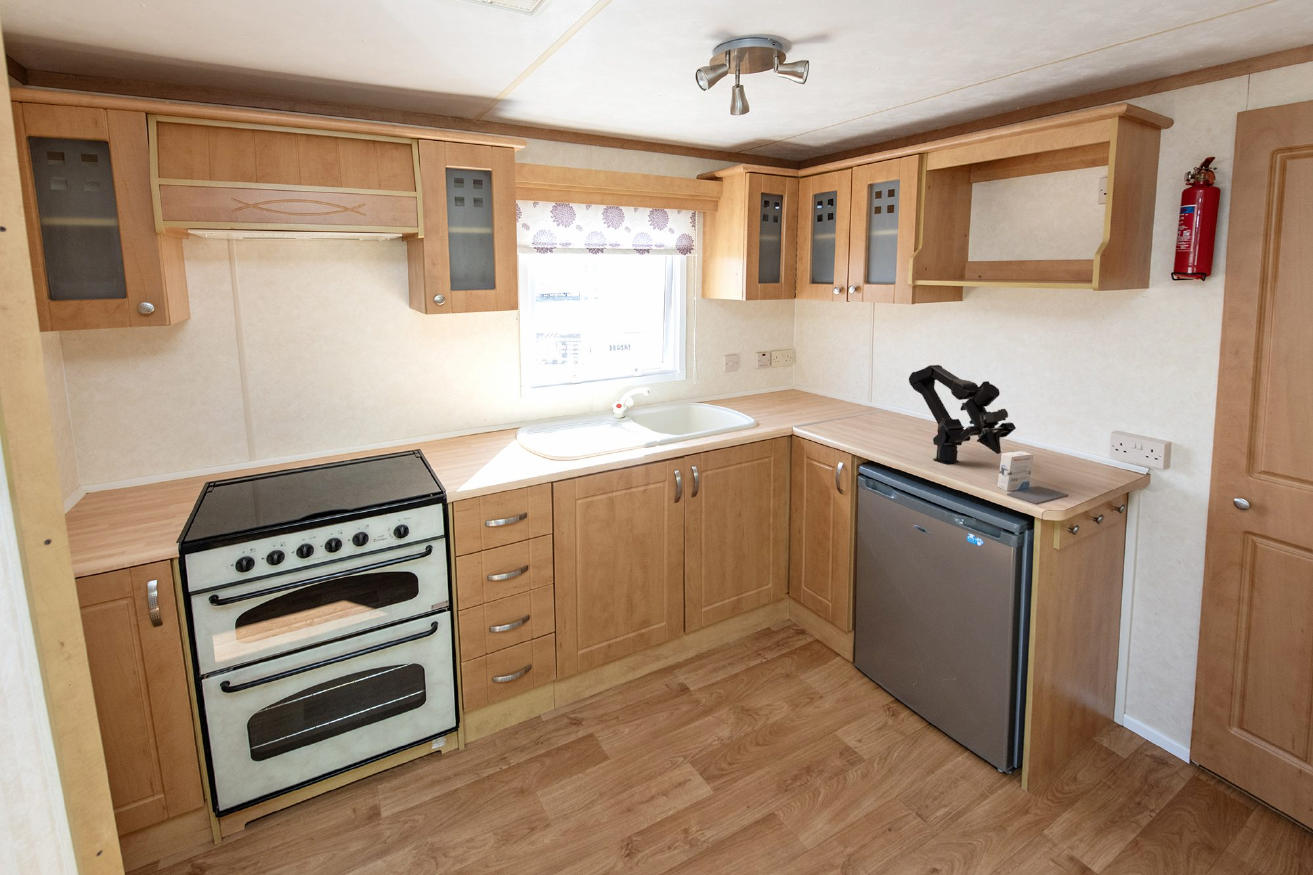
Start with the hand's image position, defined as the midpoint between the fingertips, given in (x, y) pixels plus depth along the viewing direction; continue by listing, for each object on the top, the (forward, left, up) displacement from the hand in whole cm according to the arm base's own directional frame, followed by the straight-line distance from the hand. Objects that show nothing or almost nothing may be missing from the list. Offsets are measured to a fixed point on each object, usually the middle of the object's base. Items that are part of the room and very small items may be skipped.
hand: (999, 453), depth 241 cm
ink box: (+7, -1, -10) cm, 12 cm away
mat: (+16, -1, -10) cm, 19 cm away
